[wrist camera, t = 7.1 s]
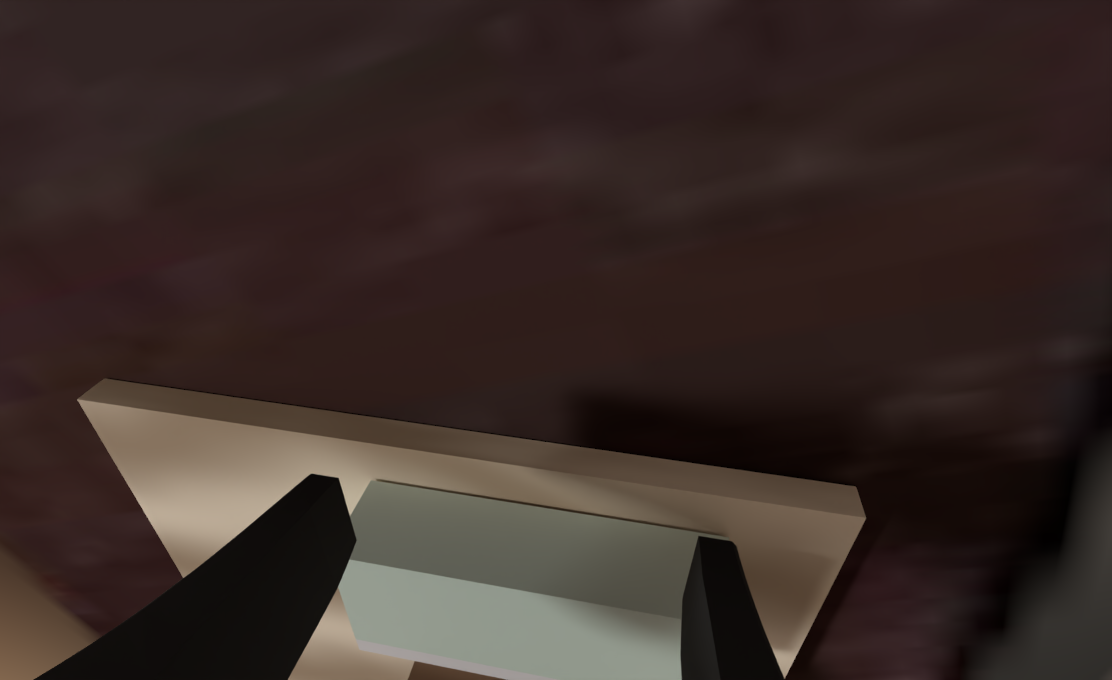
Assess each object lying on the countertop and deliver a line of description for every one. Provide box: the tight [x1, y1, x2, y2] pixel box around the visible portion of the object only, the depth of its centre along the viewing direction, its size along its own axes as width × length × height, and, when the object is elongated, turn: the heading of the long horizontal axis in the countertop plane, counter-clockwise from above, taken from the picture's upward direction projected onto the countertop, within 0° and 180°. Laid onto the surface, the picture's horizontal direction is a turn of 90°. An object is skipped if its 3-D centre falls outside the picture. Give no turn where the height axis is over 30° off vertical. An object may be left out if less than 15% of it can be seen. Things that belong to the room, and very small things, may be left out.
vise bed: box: [77, 379, 866, 680], centre depth 21 cm, size 16×22×1 cm
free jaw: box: [338, 480, 729, 680], centre depth 16 cm, size 5×10×2 cm, turn 89°
